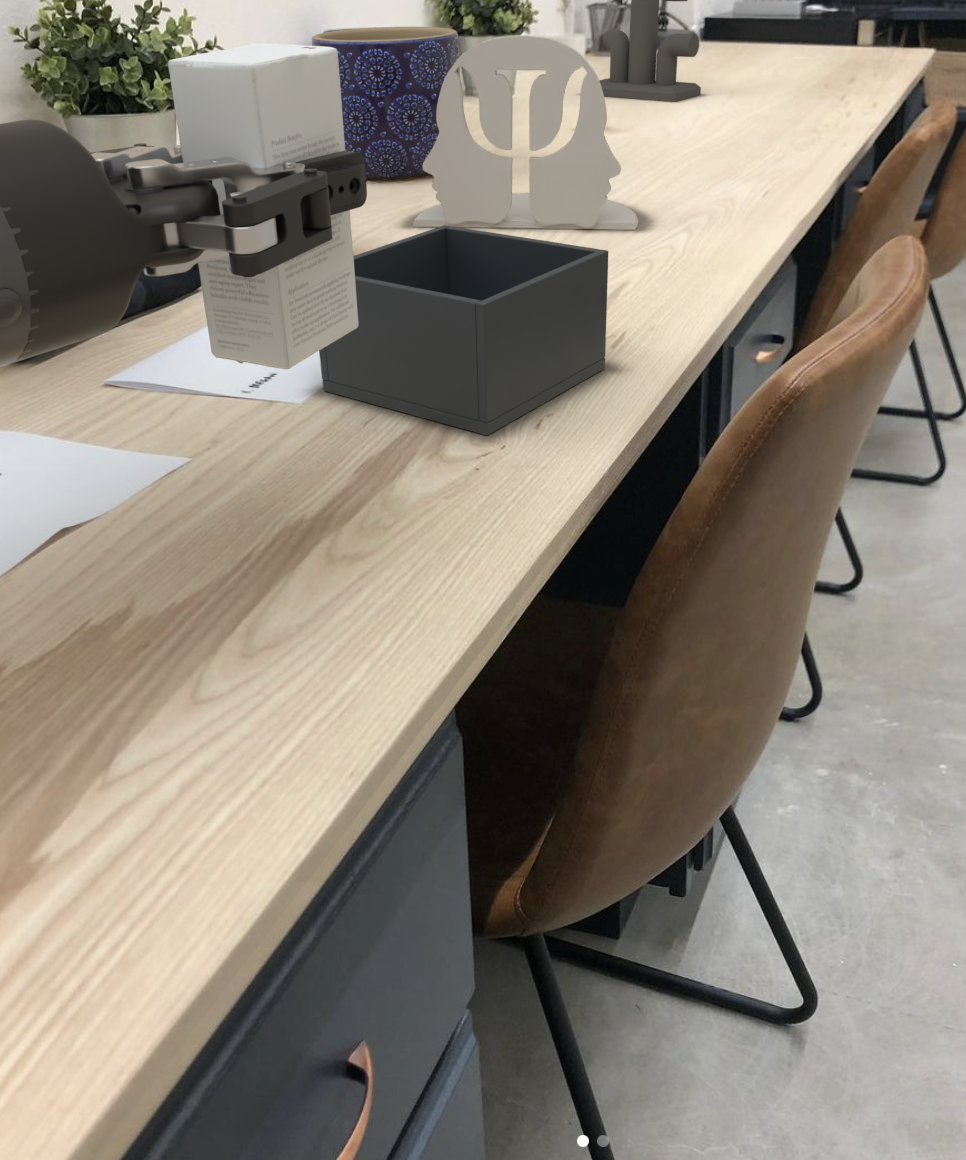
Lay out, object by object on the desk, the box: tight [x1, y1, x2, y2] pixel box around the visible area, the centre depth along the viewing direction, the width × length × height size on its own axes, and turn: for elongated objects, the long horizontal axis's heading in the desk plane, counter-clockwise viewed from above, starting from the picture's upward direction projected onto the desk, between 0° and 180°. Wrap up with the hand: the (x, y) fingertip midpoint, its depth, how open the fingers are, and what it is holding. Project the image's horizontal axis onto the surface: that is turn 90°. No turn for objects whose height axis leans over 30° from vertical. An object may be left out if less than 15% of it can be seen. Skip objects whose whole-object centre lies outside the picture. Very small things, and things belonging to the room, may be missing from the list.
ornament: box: [412, 34, 639, 231], centre depth 108 cm, size 22×13×17 cm, turn 80°
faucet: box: [599, 0, 702, 103], centre depth 179 cm, size 18×16×20 cm
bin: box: [318, 225, 609, 436], centre depth 71 cm, size 13×13×8 cm
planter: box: [311, 26, 461, 181], centre depth 128 cm, size 17×17×15 cm
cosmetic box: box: [167, 42, 358, 370], centre depth 47 cm, size 6×4×12 cm
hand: (311, 170), depth 48 cm, fingers closed on cosmetic box, 5 cm apart
